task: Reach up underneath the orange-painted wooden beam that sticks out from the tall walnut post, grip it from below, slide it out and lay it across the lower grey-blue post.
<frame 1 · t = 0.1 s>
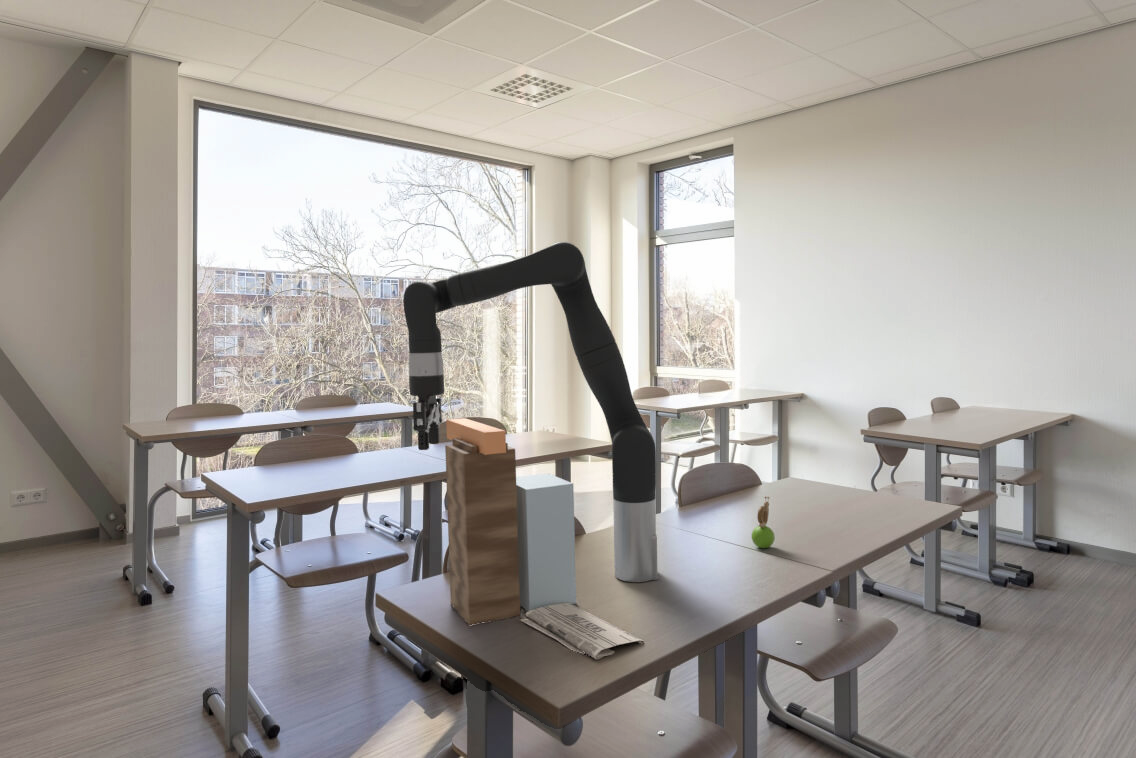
hand: (429, 446, 152), 29 cm above the table, tool pointing down, fingers open, 8 cm apart
tall post: (484, 609, 134), on the table
short post: (540, 597, 139), on the table
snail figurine: (763, 548, 169), on the table
newspaper: (579, 637, 123), on the table
beam: (474, 445, 135), point 32 cm above the table, touching tall post
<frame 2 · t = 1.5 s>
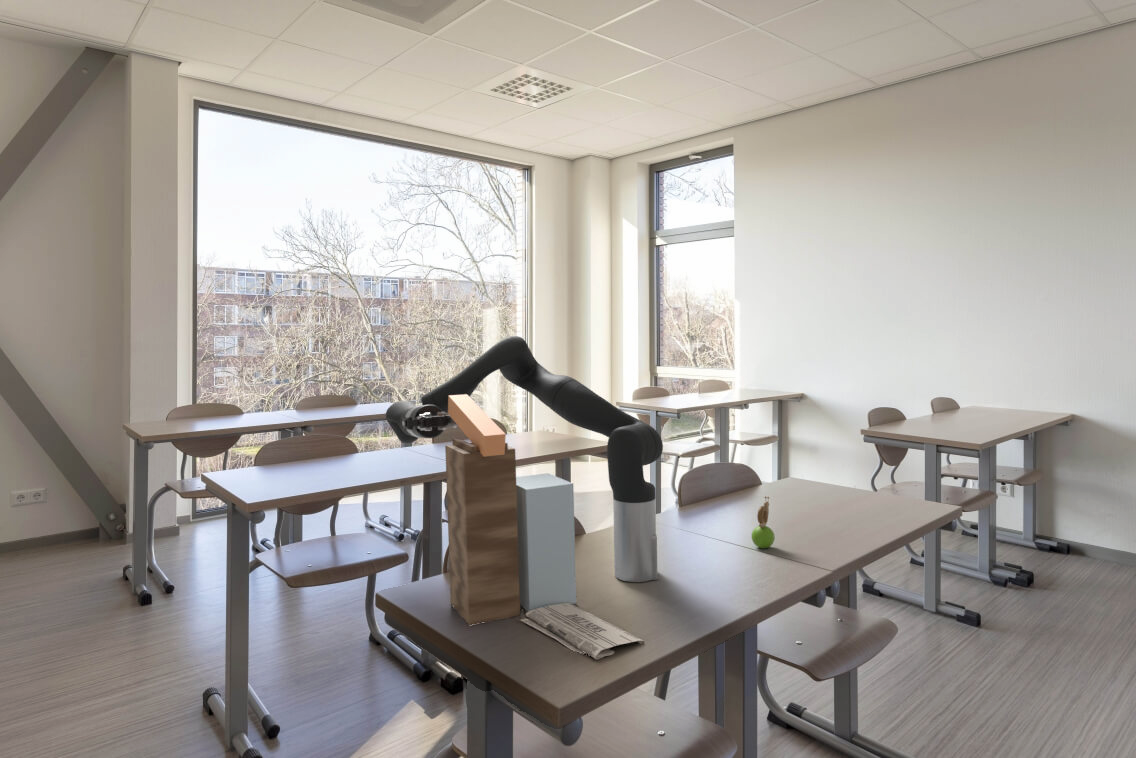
hand: (447, 421, 143), 36 cm above the table, tool horizontal, fingers open, 8 cm apart
beam: (474, 432, 135), point 34 cm above the table, tilted 14°, touching tall post
everything else where it was.
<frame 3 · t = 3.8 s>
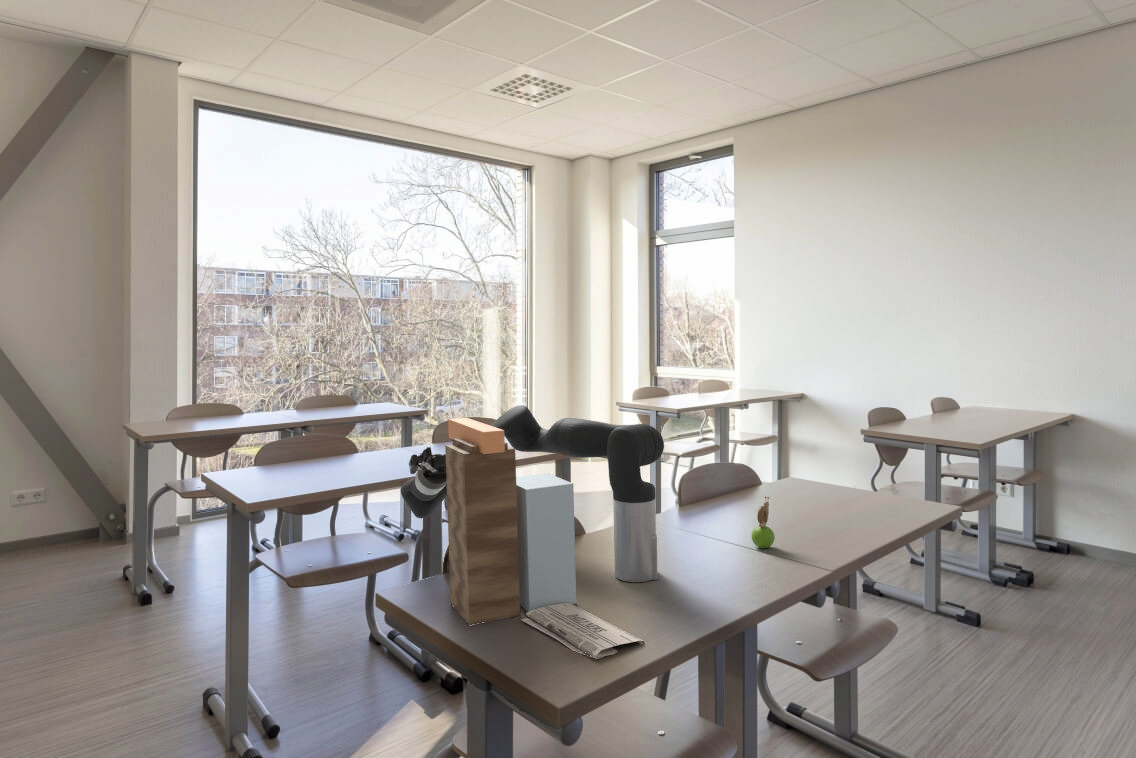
hand: (449, 448, 151), 29 cm above the table, tool pointing upward, fingers open, 8 cm apart
beam: (474, 444, 136), point 32 cm above the table, touching tall post
everything else where it was.
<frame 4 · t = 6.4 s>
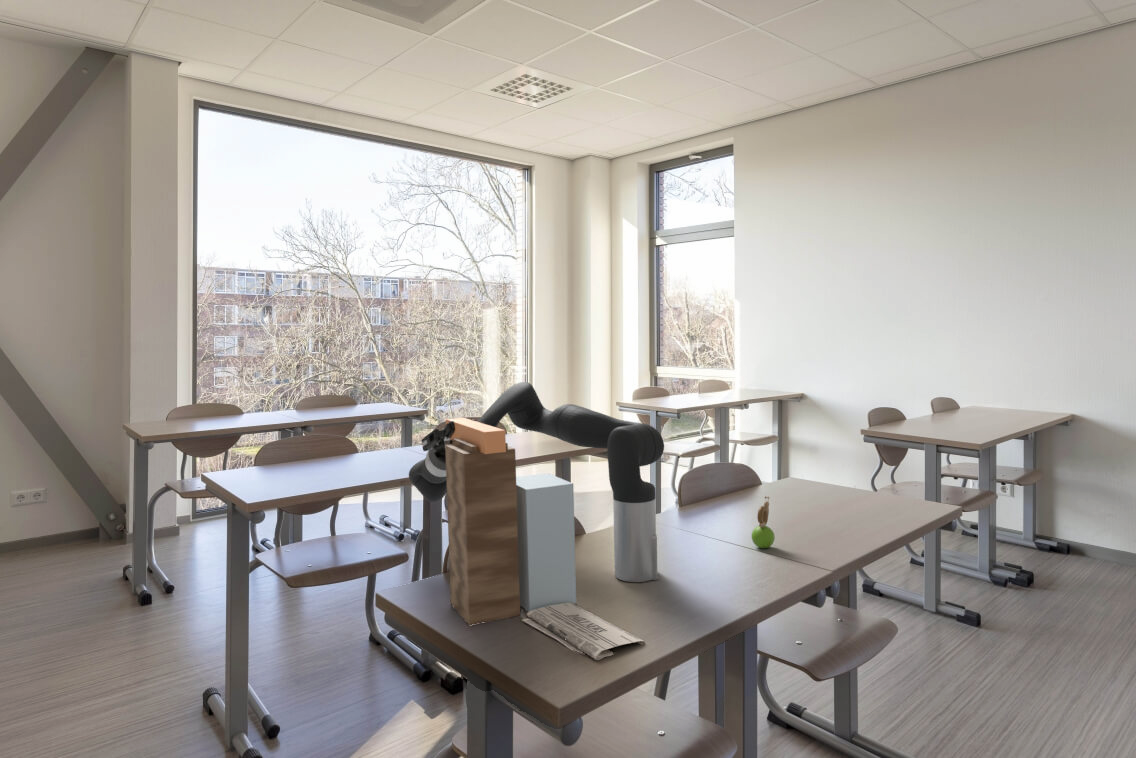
hand: (463, 424, 141), 35 cm above the table, tool pointing upward, fingers closed on beam, 4 cm apart
beam: (473, 444, 136), point 32 cm above the table, touching gripper, tall post
everything else where it was.
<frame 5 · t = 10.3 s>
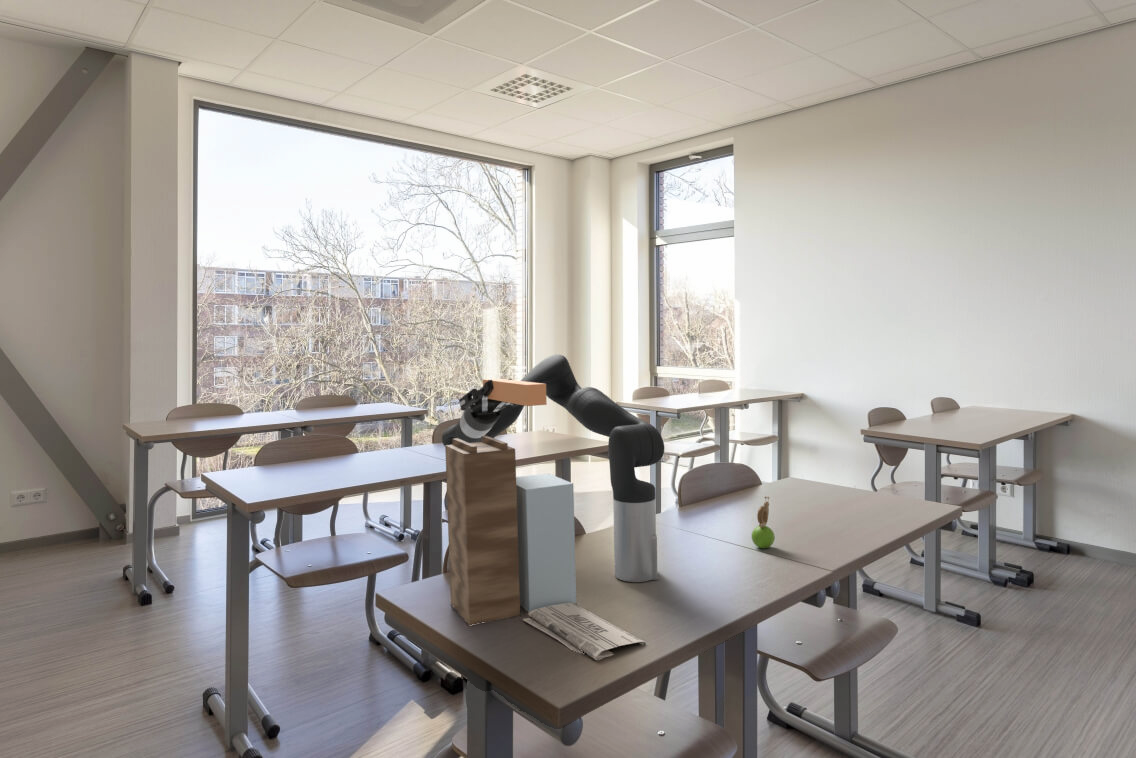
hand: (501, 383, 146), 43 cm above the table, tool pointing upward, fingers closed on beam, 4 cm apart
beam: (512, 401, 141), point 40 cm above the table, touching gripper
everything else where it was.
when the fingers open (29 cm above the table, at t = 13.9 s): beam drops 1 cm, resting on short post.
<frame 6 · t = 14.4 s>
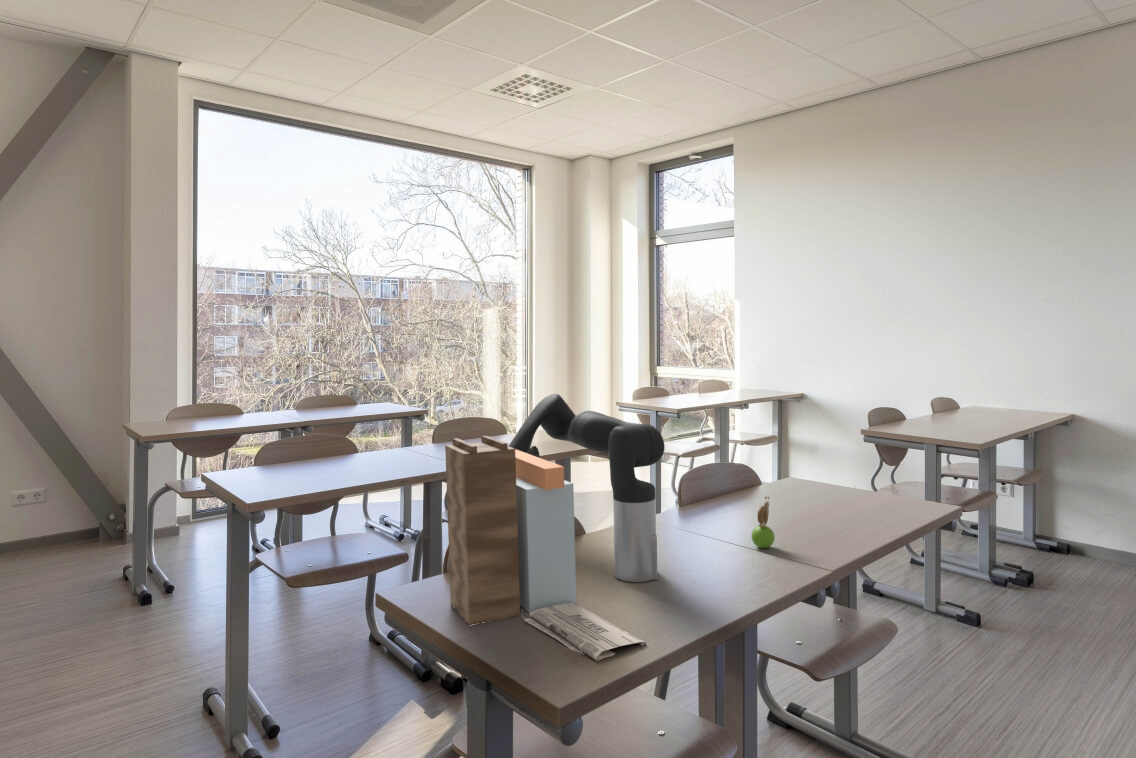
hand: (517, 451, 147), 28 cm above the table, tool pointing upward, fingers open, 8 cm apart
beam: (530, 477, 141), point 24 cm above the table, touching short post
everything else where it was.
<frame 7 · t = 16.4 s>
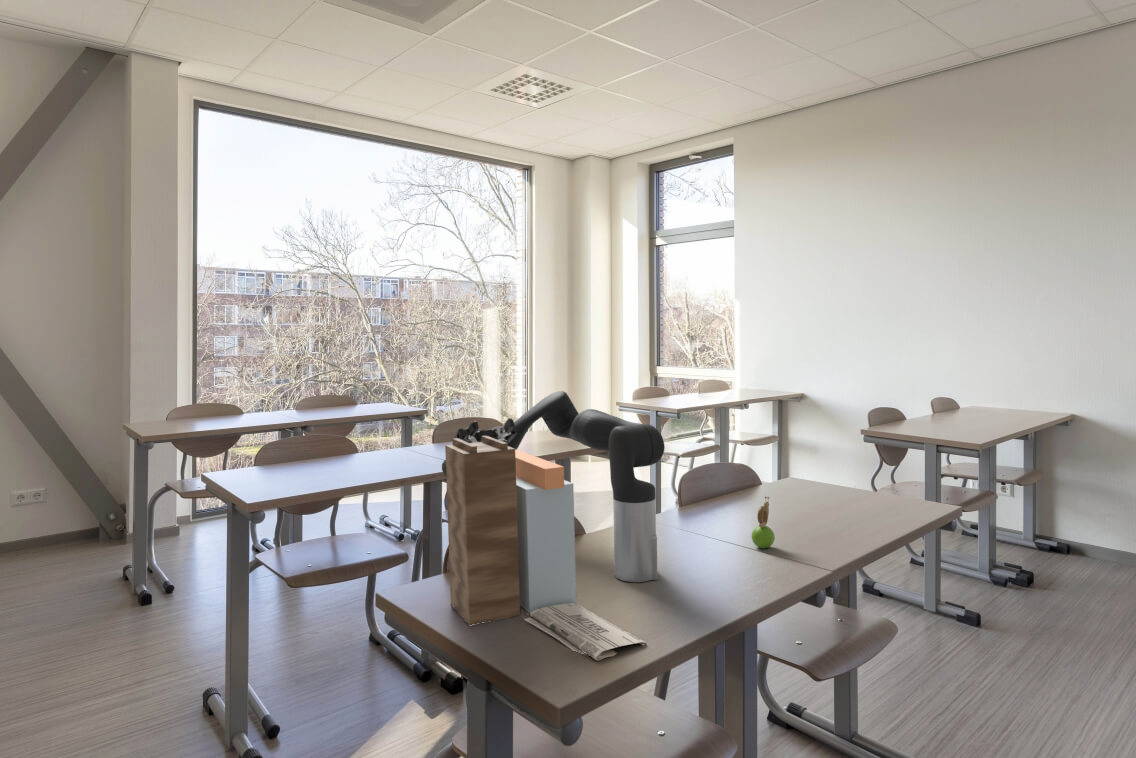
hand: (494, 423, 159), 33 cm above the table, tool pointing upward, fingers open, 8 cm apart
nothing on the table moved.
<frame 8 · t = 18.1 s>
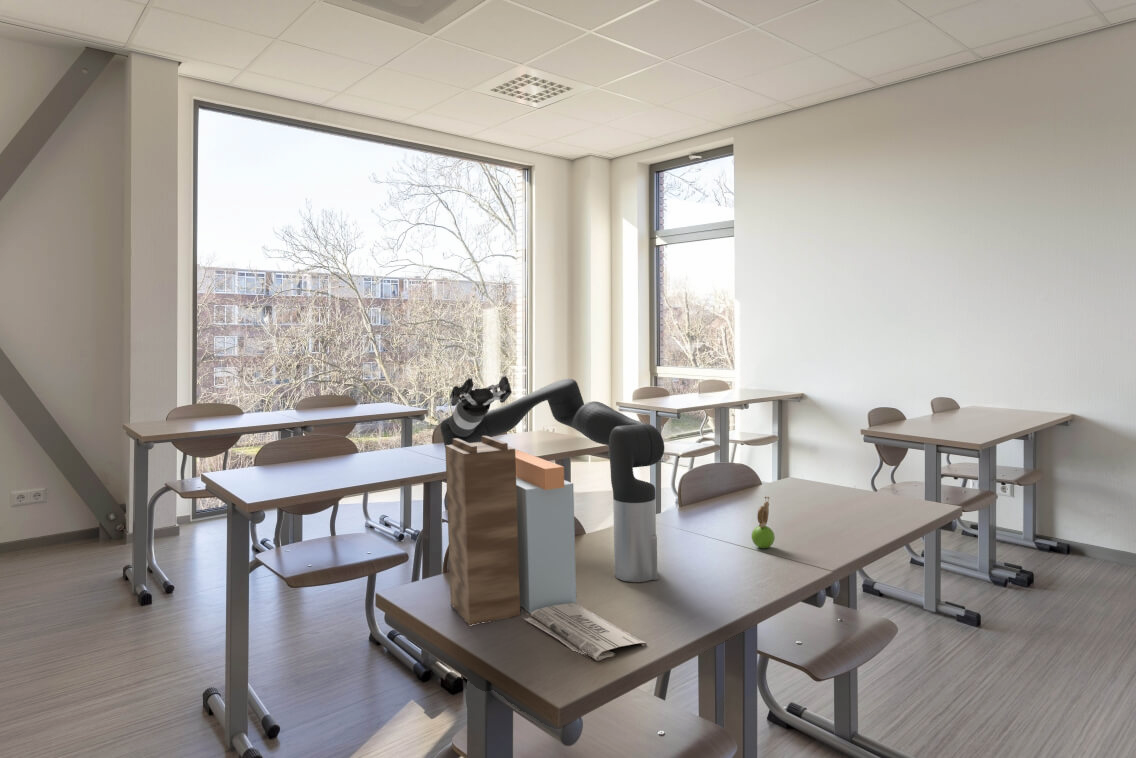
hand: (488, 380, 161), 43 cm above the table, tool pointing upward, fingers open, 8 cm apart
nothing on the table moved.
at the end: beam inside the target area on the short post (0.9 cm from its centre), point 24.0 cm above the short post's base; the gripper is holding nothing; beam tilted 0° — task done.
